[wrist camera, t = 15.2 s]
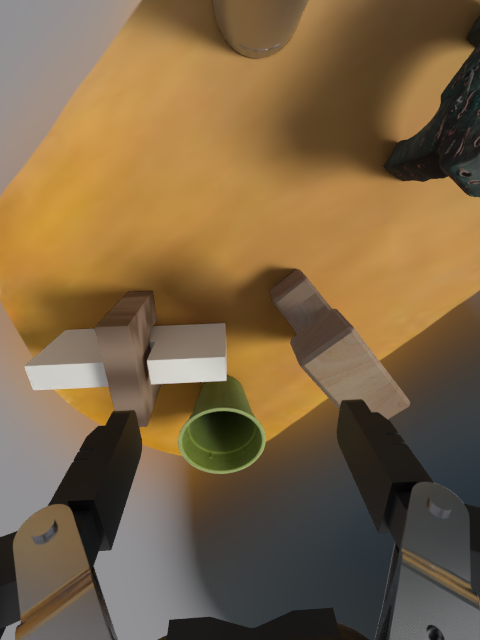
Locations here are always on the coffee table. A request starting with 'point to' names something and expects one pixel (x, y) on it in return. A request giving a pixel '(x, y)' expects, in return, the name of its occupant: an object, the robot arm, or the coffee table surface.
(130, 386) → the walnut notched plate
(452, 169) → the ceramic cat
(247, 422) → the plant pot
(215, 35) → the coffee table surface
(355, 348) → the decorative block
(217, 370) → the white notched plate
